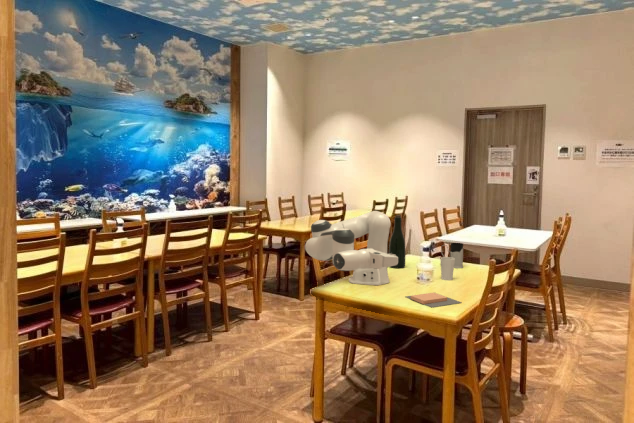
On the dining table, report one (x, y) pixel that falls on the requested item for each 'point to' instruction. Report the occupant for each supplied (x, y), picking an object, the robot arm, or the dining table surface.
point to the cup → (447, 268)
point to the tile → (428, 298)
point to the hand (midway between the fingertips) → (394, 256)
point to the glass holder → (456, 254)
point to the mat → (443, 303)
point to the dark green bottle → (398, 243)
